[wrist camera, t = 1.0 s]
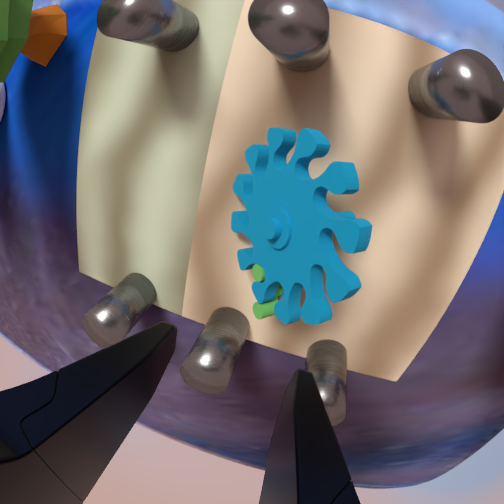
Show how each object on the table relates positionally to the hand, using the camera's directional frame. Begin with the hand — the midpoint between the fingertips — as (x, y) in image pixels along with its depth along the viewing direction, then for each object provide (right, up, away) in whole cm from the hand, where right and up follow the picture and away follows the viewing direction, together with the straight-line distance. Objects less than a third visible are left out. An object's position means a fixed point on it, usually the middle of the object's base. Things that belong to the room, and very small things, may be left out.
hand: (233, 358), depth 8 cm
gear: (+3, +5, +11) cm, 13 cm away
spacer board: (+1, +7, +11) cm, 13 cm away
